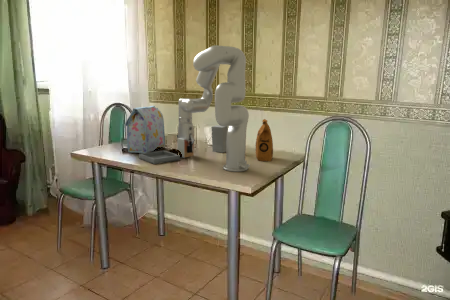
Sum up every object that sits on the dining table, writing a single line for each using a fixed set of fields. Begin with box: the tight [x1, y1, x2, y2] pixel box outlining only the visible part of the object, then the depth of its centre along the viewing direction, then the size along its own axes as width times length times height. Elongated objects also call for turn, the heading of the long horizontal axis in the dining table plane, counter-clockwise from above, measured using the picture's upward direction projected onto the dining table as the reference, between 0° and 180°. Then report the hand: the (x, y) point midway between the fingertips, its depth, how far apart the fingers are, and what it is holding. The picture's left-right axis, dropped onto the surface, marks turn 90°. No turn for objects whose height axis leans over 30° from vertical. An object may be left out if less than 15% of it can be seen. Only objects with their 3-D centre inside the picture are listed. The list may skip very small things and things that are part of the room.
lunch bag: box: [124, 105, 166, 154], centre depth 216 cm, size 22×17×26 cm
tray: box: [138, 150, 181, 165], centre depth 195 cm, size 16×16×3 cm
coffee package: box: [255, 118, 274, 162], centre depth 198 cm, size 10×12×22 cm
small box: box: [176, 138, 195, 159], centre depth 203 cm, size 8×6×10 cm
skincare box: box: [210, 124, 229, 153], centre depth 216 cm, size 8×7×16 cm
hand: (185, 151), depth 204 cm, fingers open, 7 cm apart
